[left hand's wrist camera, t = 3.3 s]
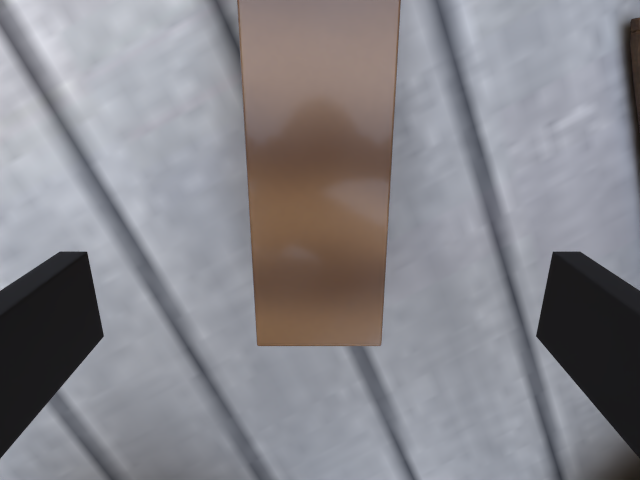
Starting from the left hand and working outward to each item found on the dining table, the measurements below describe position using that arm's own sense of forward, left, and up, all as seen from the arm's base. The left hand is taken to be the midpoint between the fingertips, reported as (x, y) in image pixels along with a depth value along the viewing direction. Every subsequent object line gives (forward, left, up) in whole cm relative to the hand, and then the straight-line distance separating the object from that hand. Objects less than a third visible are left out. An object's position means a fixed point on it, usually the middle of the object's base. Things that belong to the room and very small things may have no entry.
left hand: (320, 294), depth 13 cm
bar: (+32, +7, -14) cm, 35 cm away
